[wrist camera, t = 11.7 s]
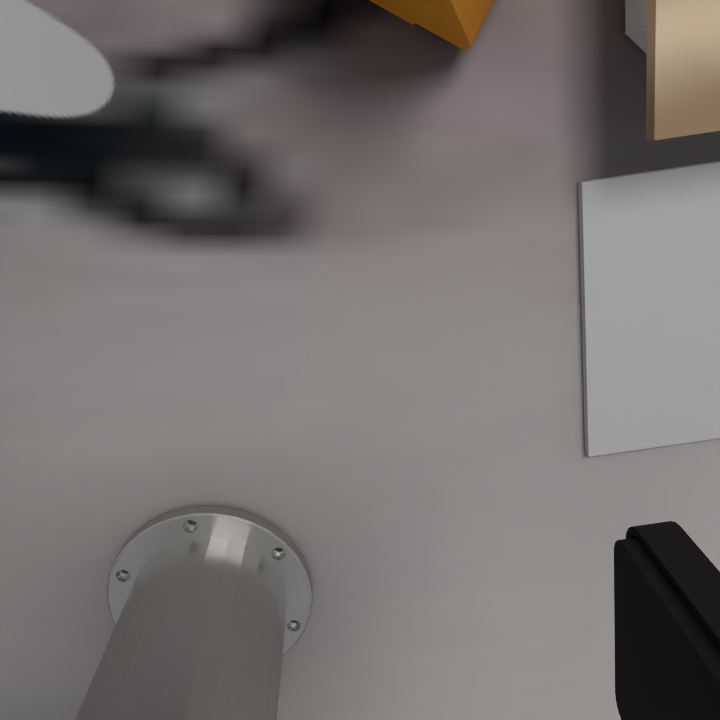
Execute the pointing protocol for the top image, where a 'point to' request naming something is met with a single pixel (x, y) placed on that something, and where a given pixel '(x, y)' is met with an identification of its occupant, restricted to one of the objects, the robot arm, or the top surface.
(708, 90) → the lid
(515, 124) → the top surface
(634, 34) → the bowl
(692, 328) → the mat
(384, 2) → the bracket
